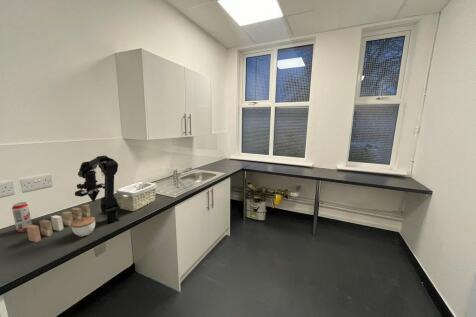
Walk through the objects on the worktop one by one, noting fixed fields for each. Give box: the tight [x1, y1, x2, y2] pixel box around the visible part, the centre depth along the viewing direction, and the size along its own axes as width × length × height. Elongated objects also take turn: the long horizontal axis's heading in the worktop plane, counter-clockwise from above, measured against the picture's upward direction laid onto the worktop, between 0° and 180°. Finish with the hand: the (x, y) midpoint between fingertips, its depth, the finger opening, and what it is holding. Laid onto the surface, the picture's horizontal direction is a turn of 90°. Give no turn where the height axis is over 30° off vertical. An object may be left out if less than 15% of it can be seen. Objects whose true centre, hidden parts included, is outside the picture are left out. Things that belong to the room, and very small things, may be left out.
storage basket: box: [116, 181, 157, 212], centre depth 149 cm, size 24×16×15 cm
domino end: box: [26, 224, 42, 243], centre depth 103 cm, size 2×5×8 cm, turn 76°
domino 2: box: [50, 214, 64, 232], centre depth 114 cm, size 2×5×8 cm, turn 76°
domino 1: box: [39, 219, 54, 237], centre depth 108 cm, size 2×5×8 cm, turn 76°
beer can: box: [11, 201, 33, 233], centre depth 112 cm, size 6×6×16 cm
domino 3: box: [61, 210, 73, 227], centre depth 119 cm, size 2×5×8 cm, turn 76°
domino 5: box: [79, 203, 92, 218], centre depth 129 cm, size 2×5×8 cm, turn 76°
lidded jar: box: [70, 216, 96, 237], centre depth 110 cm, size 11×11×9 cm
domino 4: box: [70, 207, 83, 221], centre depth 124 cm, size 2×5×8 cm, turn 76°
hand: (93, 201), depth 134 cm, fingers closed
